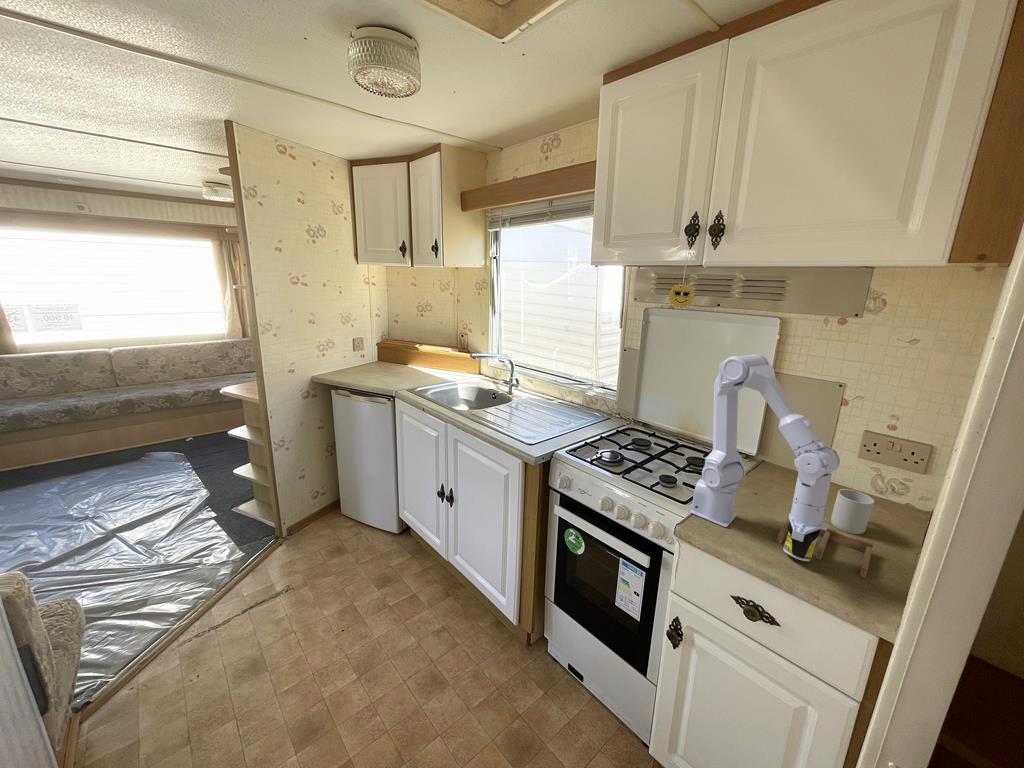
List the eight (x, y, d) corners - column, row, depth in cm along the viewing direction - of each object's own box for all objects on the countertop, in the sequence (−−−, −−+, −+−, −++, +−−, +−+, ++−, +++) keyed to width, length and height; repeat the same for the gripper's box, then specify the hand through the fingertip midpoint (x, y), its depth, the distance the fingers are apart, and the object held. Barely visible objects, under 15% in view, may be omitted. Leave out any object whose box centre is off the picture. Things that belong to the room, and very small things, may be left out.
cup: (828, 526, 109) (837, 496, 107) (832, 511, 116) (840, 482, 114) (864, 538, 105) (873, 507, 102) (865, 521, 112) (874, 492, 109)
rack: (776, 542, 102) (778, 533, 101) (787, 522, 110) (789, 514, 110) (865, 577, 91) (868, 568, 90) (870, 552, 99) (873, 543, 98)
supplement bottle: (777, 547, 98) (789, 508, 98) (795, 551, 100) (808, 512, 99) (796, 560, 93) (809, 519, 92) (815, 563, 94) (829, 523, 93)
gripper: (826, 520, 83) (813, 579, 86) (837, 495, 93) (826, 549, 96) (784, 507, 88) (774, 563, 91) (800, 485, 98) (790, 536, 101)
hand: (798, 555), depth 94 cm, fingers closed, pressing on supplement bottle
